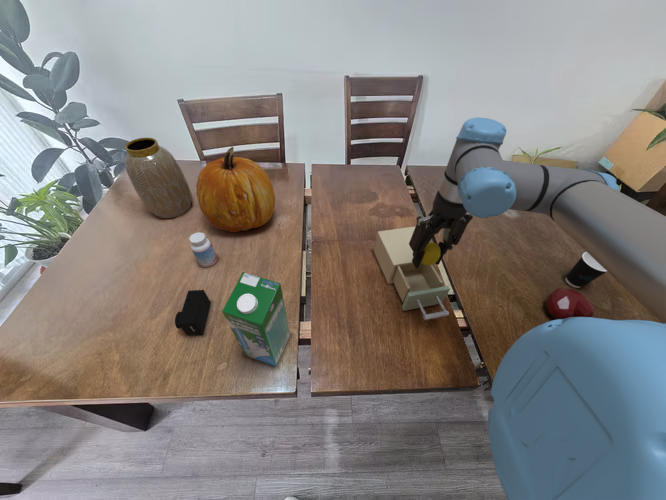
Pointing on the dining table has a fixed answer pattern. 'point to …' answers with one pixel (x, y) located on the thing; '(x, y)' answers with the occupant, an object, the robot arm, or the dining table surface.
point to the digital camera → (193, 313)
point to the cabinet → (393, 250)
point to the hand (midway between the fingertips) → (425, 262)
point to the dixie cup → (584, 271)
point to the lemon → (431, 254)
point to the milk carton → (258, 318)
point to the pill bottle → (202, 249)
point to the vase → (157, 178)
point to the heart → (569, 304)
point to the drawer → (420, 288)
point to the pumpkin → (235, 193)
